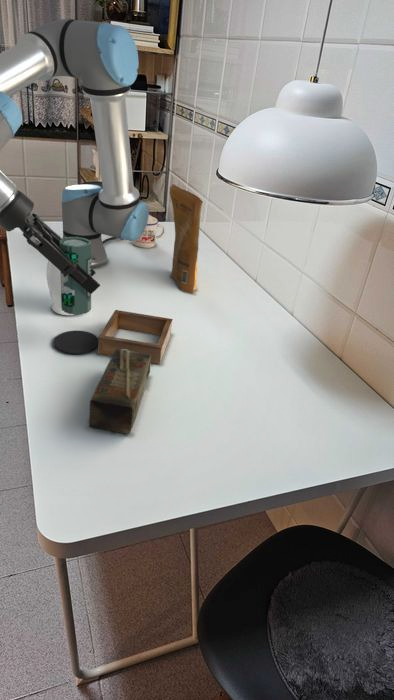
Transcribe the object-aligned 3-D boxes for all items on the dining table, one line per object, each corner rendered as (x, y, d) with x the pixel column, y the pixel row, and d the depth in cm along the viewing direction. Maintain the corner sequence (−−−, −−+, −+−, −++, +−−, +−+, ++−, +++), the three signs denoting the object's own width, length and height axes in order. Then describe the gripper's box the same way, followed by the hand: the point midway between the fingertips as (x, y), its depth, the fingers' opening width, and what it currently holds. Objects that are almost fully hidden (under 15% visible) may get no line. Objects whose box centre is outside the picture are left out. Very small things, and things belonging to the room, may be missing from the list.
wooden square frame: (114, 325, 117) (115, 309, 115) (171, 334, 116) (172, 318, 114) (97, 354, 105) (97, 337, 103) (160, 364, 104) (161, 347, 102)
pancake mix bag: (180, 296, 136) (191, 198, 122) (161, 271, 151) (168, 181, 137) (202, 295, 139) (214, 199, 124) (180, 270, 153) (190, 181, 139)
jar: (79, 321, 117) (79, 264, 109) (40, 313, 118) (37, 256, 110) (96, 304, 126) (96, 250, 118) (59, 297, 127) (57, 243, 119)
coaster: (63, 329, 112) (63, 327, 112) (104, 336, 112) (104, 334, 112) (46, 350, 104) (46, 348, 103) (90, 358, 103) (91, 355, 103)
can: (60, 302, 105) (58, 236, 97) (88, 301, 107) (88, 237, 99) (62, 315, 100) (61, 246, 92) (92, 314, 102) (92, 247, 94)
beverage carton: (151, 377, 100) (153, 350, 96) (131, 437, 83) (133, 407, 80) (114, 371, 100) (114, 344, 96) (87, 430, 83) (87, 400, 80)
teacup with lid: (133, 248, 167) (134, 215, 161) (129, 239, 174) (130, 207, 168) (166, 248, 170) (169, 216, 164) (161, 240, 178) (163, 209, 172)
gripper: (-8, 202, 96) (76, 276, 109) (-12, 232, 81) (85, 314, 94) (18, 177, 95) (99, 255, 108) (19, 202, 80) (113, 289, 93)
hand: (93, 282), depth 101 cm, fingers closed on can, 6 cm apart
